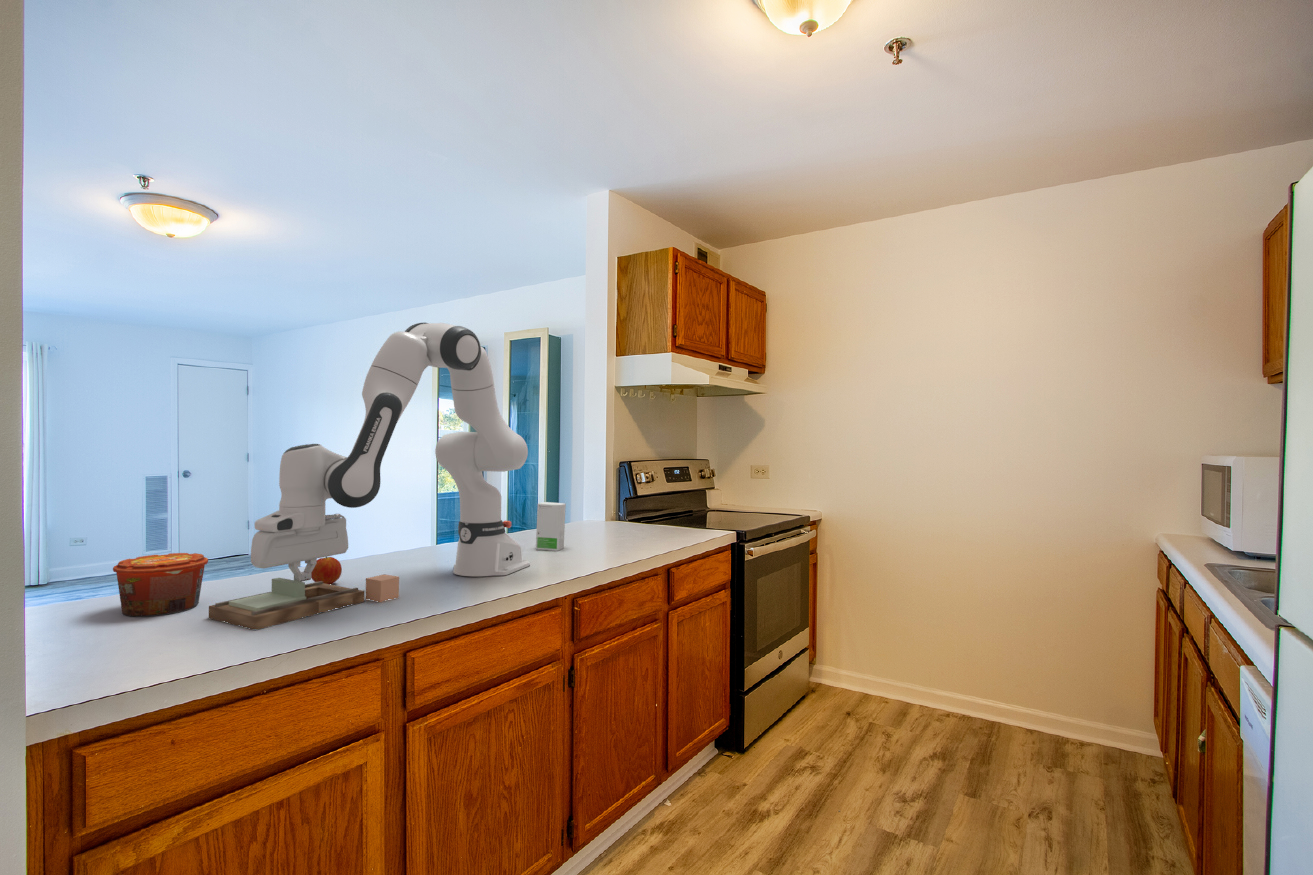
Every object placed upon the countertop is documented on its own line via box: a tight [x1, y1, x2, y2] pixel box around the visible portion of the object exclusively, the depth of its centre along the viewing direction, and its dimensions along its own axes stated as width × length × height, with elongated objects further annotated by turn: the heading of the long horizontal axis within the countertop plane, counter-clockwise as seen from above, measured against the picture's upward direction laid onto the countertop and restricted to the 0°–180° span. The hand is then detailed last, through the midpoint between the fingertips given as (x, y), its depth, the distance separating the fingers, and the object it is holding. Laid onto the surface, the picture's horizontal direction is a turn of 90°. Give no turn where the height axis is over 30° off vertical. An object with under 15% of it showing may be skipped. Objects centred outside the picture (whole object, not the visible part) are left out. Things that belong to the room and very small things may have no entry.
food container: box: [112, 552, 209, 618], centre depth 133 cm, size 16×16×11 cm
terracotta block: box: [365, 574, 400, 603], centre depth 144 cm, size 5×5×5 cm
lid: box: [228, 577, 306, 611], centre depth 130 cm, size 10×10×4 cm
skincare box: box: [535, 501, 567, 552], centre depth 211 cm, size 8×7×16 cm
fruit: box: [311, 556, 343, 585], centre depth 156 cm, size 7×7×8 cm
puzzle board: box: [208, 581, 365, 630], centre depth 134 cm, size 24×16×3 cm, turn 153°
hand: (302, 580), depth 137 cm, fingers closed
